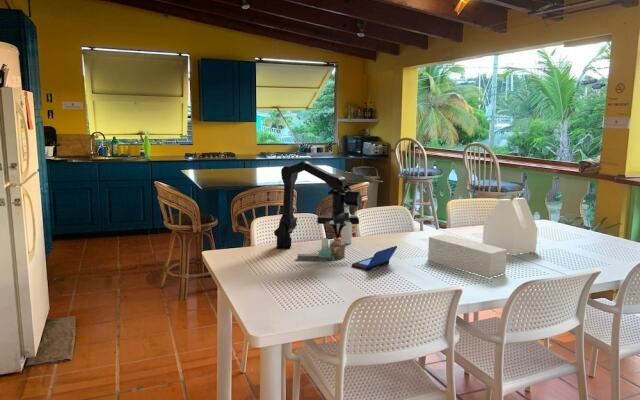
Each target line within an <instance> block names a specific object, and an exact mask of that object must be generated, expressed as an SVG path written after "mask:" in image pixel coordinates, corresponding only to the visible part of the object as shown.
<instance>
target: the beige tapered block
mask: <svg viewBox="0 0 640 400" xmlns="http://www.w3.org/2000/svg"><path fill="white" fill-rule="evenodd" d="M482 228H483V232H482V243H483V244H487V245H491V246H494V247H498V248H502V249H506V250H507V253H509V254H511V255H510V256H512V255H514V254H520V253H527V254H529V253H528V252H534V253H536V252H537V241H538V240H537V239H538V230H539V229H538V226H537V224H536V221H535V218H534V216H533V213H532V211H531V208H530V206H529V203H528V201H527V198H525V197H514V198H513V199H511V198H501V199H498V200H497V202H496V204H495V205H494V207H493V209H492V210H491V211H490V213H489V214H488V216H487V218H486V219H485V221H484V222H483V227H482ZM509 254H508V255H509ZM520 255H521V254H520ZM514 256H515V255H514Z"/></svg>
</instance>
